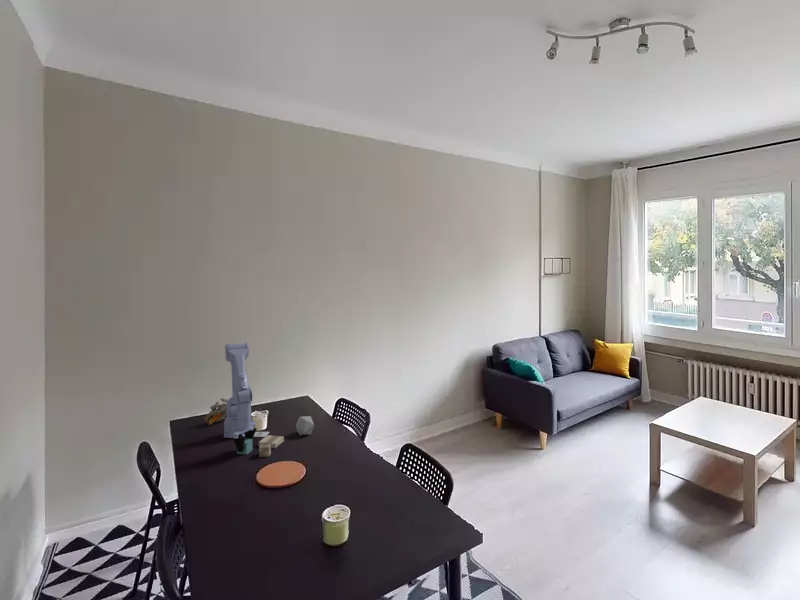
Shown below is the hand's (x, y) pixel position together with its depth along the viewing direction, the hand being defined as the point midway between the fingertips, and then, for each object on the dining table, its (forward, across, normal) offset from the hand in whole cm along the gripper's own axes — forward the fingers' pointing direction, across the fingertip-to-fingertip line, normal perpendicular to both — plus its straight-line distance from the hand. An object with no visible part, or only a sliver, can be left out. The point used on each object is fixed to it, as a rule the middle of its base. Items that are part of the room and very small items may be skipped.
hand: (244, 448), depth 181 cm
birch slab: (+2, +10, -7) cm, 12 cm away
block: (+2, -1, -10) cm, 10 cm away
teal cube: (+2, 0, 0) cm, 2 cm away
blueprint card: (+1, +19, +4) cm, 19 cm away
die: (+2, +24, -17) cm, 29 cm away
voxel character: (+2, +29, +30) cm, 42 cm away
